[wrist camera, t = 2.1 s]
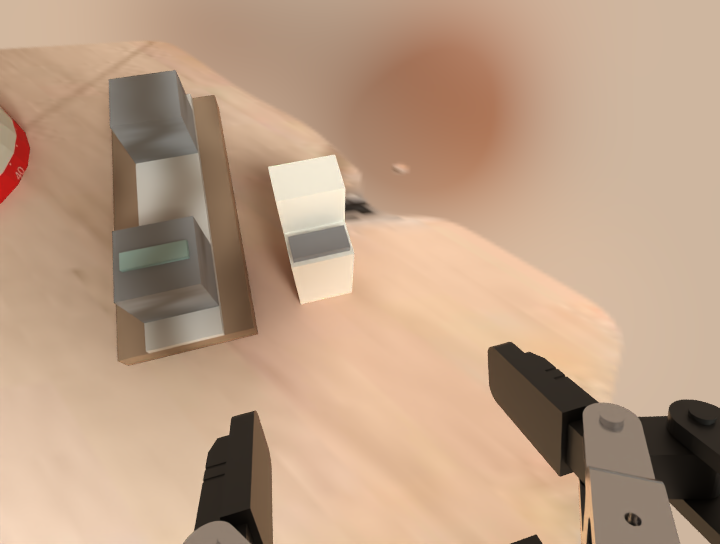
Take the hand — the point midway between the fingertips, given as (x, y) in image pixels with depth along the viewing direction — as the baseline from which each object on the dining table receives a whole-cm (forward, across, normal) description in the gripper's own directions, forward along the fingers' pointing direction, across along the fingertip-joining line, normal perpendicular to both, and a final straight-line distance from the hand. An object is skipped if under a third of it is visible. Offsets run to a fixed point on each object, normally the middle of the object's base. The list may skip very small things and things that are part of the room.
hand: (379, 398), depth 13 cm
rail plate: (+24, +10, -3) cm, 26 cm away
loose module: (+19, 0, +2) cm, 19 cm away
